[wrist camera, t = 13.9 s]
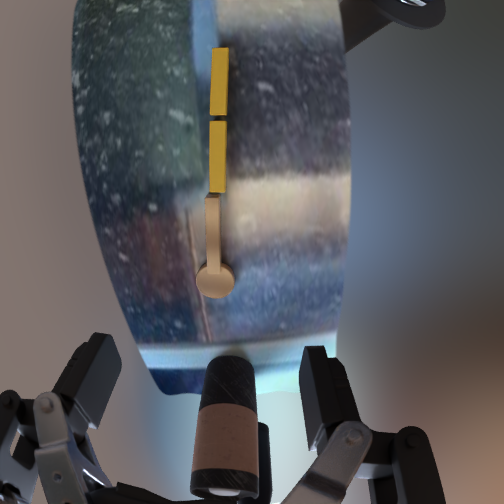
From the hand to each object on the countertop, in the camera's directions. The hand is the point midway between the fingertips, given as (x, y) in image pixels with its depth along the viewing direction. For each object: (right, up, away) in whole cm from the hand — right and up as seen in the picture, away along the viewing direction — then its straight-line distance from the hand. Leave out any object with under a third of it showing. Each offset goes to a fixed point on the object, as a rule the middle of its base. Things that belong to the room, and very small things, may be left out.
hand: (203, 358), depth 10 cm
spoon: (-2, +5, +20) cm, 21 cm away
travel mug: (-1, -13, +28) cm, 31 cm away
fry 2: (-1, +14, +16) cm, 21 cm away
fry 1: (-1, +21, +13) cm, 24 cm away
